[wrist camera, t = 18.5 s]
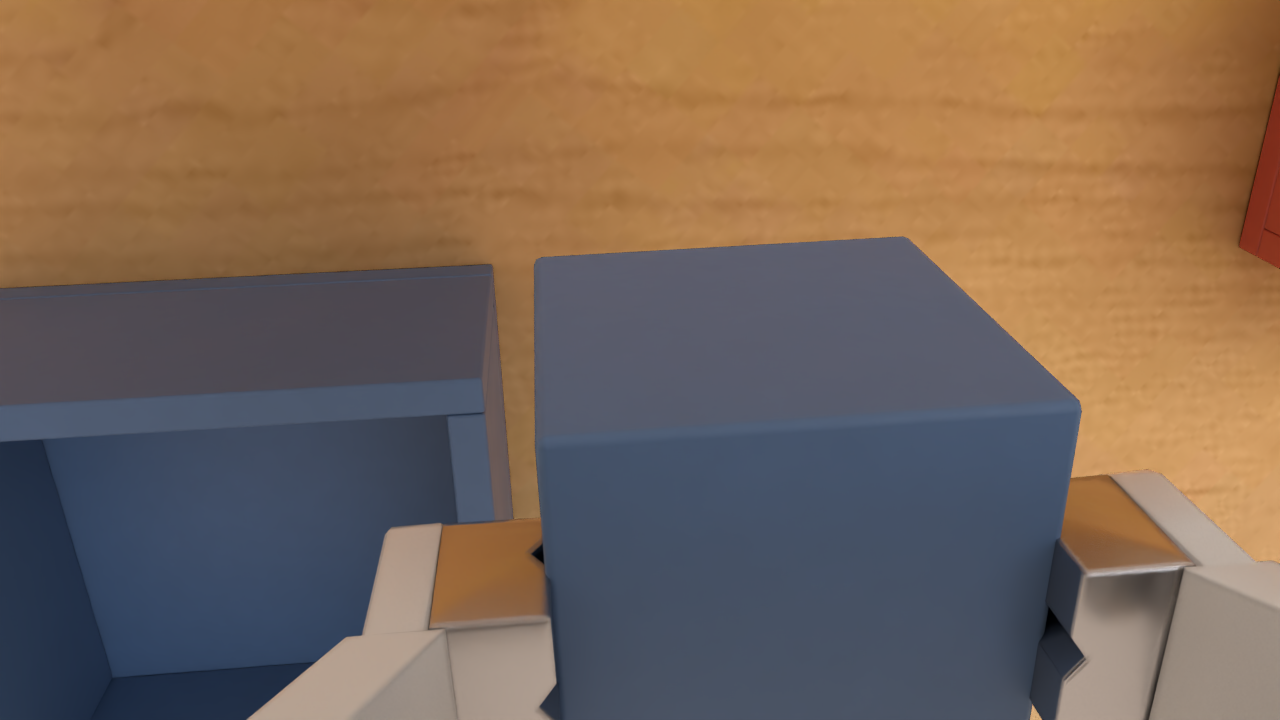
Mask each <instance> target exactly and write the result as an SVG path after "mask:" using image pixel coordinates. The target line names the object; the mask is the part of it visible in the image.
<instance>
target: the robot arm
mask: <svg viewBox="0 0 1280 720" xmlns="http://www.w3.org/2000/svg"><path fill="white" fill-rule="evenodd" d="M1045 602H1046V604H1047V605H1048V606H1049V608H1048V614H1047V620H1046V626H1045V632H1044V635H1043V636H1042V638H1041V639H1040V641H1039V642H1038V648H1037V654H1036V661H1035V667H1034V673H1033V679H1032V686H1031V692H1030V698H1029V699H1030V701H1031V702H1032V704H1033V705H1034V707H1035V709H1036V710H1037V712H1038V713H1039V715H1040V717H1041V718H1042V720H1280V564H1279V563H1277V562H1274V561H1260V562H1256V561H1255V560H1254V559H1252V558H1251V557H1250V556H1249V555H1248V554H1247V553H1246V552H1245V551H1244V550H1243V549H1242V548H1241V547H1240V546H1238V545H1237V544H1236V543H1235V542H1234V541H1233V540H1232V539H1231V538H1230V537H1229V536H1228V535H1227V534H1226V533H1225V532H1223V531H1222V530H1221V529H1220V528H1219V527H1218V526H1217V525H1216V524H1215V523H1214V522H1213V521H1212V520H1211V519H1210V518H1208V517H1207V516H1206V515H1205V514H1204V513H1203V512H1202V511H1201V510H1200V509H1199V508H1198V507H1197V506H1196V505H1195V504H1193V503H1192V502H1191V501H1190V500H1189V499H1188V498H1187V497H1186V496H1185V495H1184V494H1183V493H1182V492H1181V491H1179V490H1178V489H1177V488H1176V487H1175V486H1174V485H1173V484H1172V483H1171V482H1170V481H1169V480H1168V479H1167V478H1166V477H1164V476H1163V475H1162V474H1160V473H1157V472H1154V471H1152V470H1149V469H1145V470H1137V471H1128V472H1119V473H1110V474H1101V475H1097V476H1087V477H1076V478H1070V484H1069V490H1068V496H1067V502H1066V507H1065V513H1064V519H1063V525H1062V531H1061V537H1060V538H1058V539H1056V542H1055V548H1054V554H1053V559H1052V565H1051V571H1050V577H1049V583H1048V588H1047V594H1046V600H1045ZM247 720H561V709H560V694H559V683H558V682H557V680H556V642H555V630H554V618H553V607H552V595H551V584H550V578H548V577H547V575H546V574H545V565H544V552H543V540H542V527H541V518H527V519H509V520H491V521H473V522H455V523H445V525H443V524H441V523H433V524H421V525H409V526H398V527H391V528H390V529H389V530H388V532H387V533H386V534H385V537H384V541H383V545H382V550H381V554H380V558H379V563H378V567H377V572H376V576H375V580H374V585H373V589H372V593H371V598H370V602H369V607H368V611H367V615H366V620H365V624H364V628H363V633H362V636H352V637H346V638H344V639H343V640H342V641H341V642H339V643H338V644H337V645H336V646H335V647H333V648H332V649H331V650H330V651H329V652H327V653H326V654H325V655H324V656H323V657H321V658H320V659H319V660H318V661H317V662H315V663H314V664H313V665H312V666H311V667H309V668H308V669H307V670H306V671H305V672H303V673H302V674H301V675H300V676H299V677H297V678H296V679H295V680H294V681H293V682H291V683H290V684H289V685H288V686H286V687H285V688H284V689H283V690H282V691H280V692H279V693H278V694H277V695H276V696H274V697H273V698H272V699H271V700H270V701H268V702H267V703H266V704H265V705H264V706H262V707H261V708H260V709H259V710H258V711H256V712H255V713H254V714H253V715H252V716H250V717H249V718H248V719H247Z"/></svg>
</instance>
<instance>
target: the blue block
mask: <svg viewBox="0 0 1280 720" xmlns="http://www.w3.org/2000/svg"><path fill="white" fill-rule="evenodd" d="M534 353H535V453H536V465H537V478H538V490H539V502H540V515H541V527H542V540H543V552H544V565H545V574H546V575H547V577H548V578H550V584H551V595H552V607H553V618H554V630H555V642H556V680H557V682H558V683H559V694H560V709H561V720H1030V715H1031V709H1032V702H1031V701H1030V699H1029V698H1030V692H1031V686H1032V679H1033V673H1034V667H1035V661H1036V654H1037V648H1038V642H1039V641H1040V639H1041V638H1042V636H1043V635H1044V632H1045V626H1046V620H1047V614H1048V608H1049V606H1048V605H1047V604H1046V602H1045V600H1046V594H1047V588H1048V583H1049V577H1050V571H1051V565H1052V559H1053V554H1054V548H1055V542H1056V539H1058V538H1060V537H1061V531H1062V525H1063V519H1064V513H1065V507H1066V502H1067V496H1068V490H1069V484H1070V478H1071V472H1072V466H1073V460H1074V454H1075V448H1076V442H1077V436H1078V430H1079V424H1080V418H1081V413H1082V411H1081V405H1080V402H1079V400H1078V399H1077V398H1076V397H1075V396H1074V395H1073V394H1072V393H1071V392H1070V391H1068V390H1067V389H1066V388H1065V387H1064V386H1063V385H1062V384H1061V383H1060V382H1059V381H1058V380H1057V379H1056V378H1055V377H1054V376H1053V375H1052V374H1051V373H1049V372H1048V371H1047V370H1046V369H1045V368H1044V367H1043V366H1042V365H1041V364H1040V363H1039V362H1038V361H1037V360H1036V359H1035V358H1034V357H1033V356H1032V355H1030V354H1029V353H1028V352H1027V351H1026V350H1025V349H1024V348H1023V347H1022V346H1021V345H1020V344H1019V343H1018V342H1017V341H1016V340H1015V339H1014V338H1013V337H1012V336H1010V335H1009V334H1008V333H1007V332H1006V331H1005V330H1004V329H1003V328H1002V327H1001V326H1000V325H999V324H998V323H997V322H996V321H995V320H994V319H993V318H991V317H990V316H989V315H988V314H987V313H986V312H985V311H984V310H983V309H982V308H981V307H980V306H979V305H978V304H977V303H976V302H975V301H974V300H973V299H971V298H970V297H969V296H968V295H967V294H966V293H965V292H964V291H963V290H962V289H961V288H960V287H959V286H958V285H957V284H956V283H955V282H954V281H952V280H951V279H950V278H949V277H948V276H947V275H946V274H945V273H944V272H943V271H942V270H941V269H940V268H939V267H938V266H937V265H936V264H935V263H934V262H932V261H931V260H930V259H929V258H928V257H927V256H926V255H925V254H924V253H923V252H922V251H921V250H920V249H919V248H918V247H917V246H916V245H915V244H913V243H912V242H911V241H910V240H909V239H908V238H905V237H887V238H869V239H852V240H834V241H817V242H799V243H782V244H764V245H747V246H729V247H712V248H694V249H677V250H659V251H642V252H624V253H607V254H589V255H572V256H554V257H541V258H539V259H537V260H536V261H535V264H534Z"/></svg>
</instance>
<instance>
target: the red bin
mask: <svg viewBox="0 0 1280 720" xmlns="http://www.w3.org/2000/svg"><path fill="white" fill-rule="evenodd" d="M1239 247H1240V248H1242V249H1244V250H1245V251H1247V252H1249V253H1251V254H1253V255H1255V256H1257V257H1258V258H1260V259H1262V260H1264V261H1266V262H1268V263H1270V264H1272V265H1274V266H1276V267H1277V268H1279V269H1280V76H1279V80H1278V84H1277V88H1276V92H1275V97H1274V101H1273V105H1272V109H1271V113H1270V118H1269V122H1268V126H1267V130H1266V134H1265V139H1264V143H1263V147H1262V151H1261V155H1260V160H1259V164H1258V168H1257V172H1256V177H1255V181H1254V185H1253V189H1252V193H1251V198H1250V202H1249V206H1248V210H1247V214H1246V219H1245V223H1244V227H1243V231H1242V235H1241V240H1240V244H1239Z"/></svg>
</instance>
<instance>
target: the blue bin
mask: <svg viewBox="0 0 1280 720" xmlns="http://www.w3.org/2000/svg"><path fill="white" fill-rule="evenodd" d="M509 519H513V508H512V495H511V483H510V471H509V459H508V447H507V434H506V422H505V410H504V398H503V386H502V373H501V361H500V349H499V337H498V325H497V313H496V300H495V288H494V276H493V266H492V265H491V264H488V265H468V266H448V267H427V268H407V269H387V270H366V271H346V272H326V273H305V274H285V275H265V276H245V277H224V278H204V279H184V280H163V281H143V282H123V283H102V284H82V285H62V286H42V287H21V288H1V289H0V720H247V719H248V718H249V717H250V716H252V715H253V714H254V713H255V712H256V711H258V710H259V709H260V708H261V707H262V706H264V705H265V704H266V703H267V702H268V701H270V700H271V699H272V698H273V697H274V696H276V695H277V694H278V693H279V692H280V691H282V690H283V689H284V688H285V687H286V686H288V685H289V684H290V683H291V682H293V681H294V680H295V679H296V678H297V677H299V676H300V675H301V674H302V673H303V672H305V671H306V670H307V669H308V668H309V667H311V666H312V665H313V664H314V663H315V662H317V661H318V660H319V659H320V658H321V657H323V656H324V655H325V654H326V653H327V652H329V651H330V650H331V649H332V648H333V647H335V646H336V645H337V644H338V643H339V642H341V641H342V640H343V639H344V638H346V637H352V636H362V633H363V628H364V624H365V620H366V615H367V611H368V607H369V602H370V598H371V593H372V589H373V585H374V580H375V576H376V572H377V567H378V563H379V558H380V554H381V550H382V545H383V541H384V537H385V534H386V533H387V532H388V530H389V529H390V528H391V527H398V526H409V525H421V524H433V523H441V524H443V525H445V523H455V522H473V521H491V520H509Z"/></svg>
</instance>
